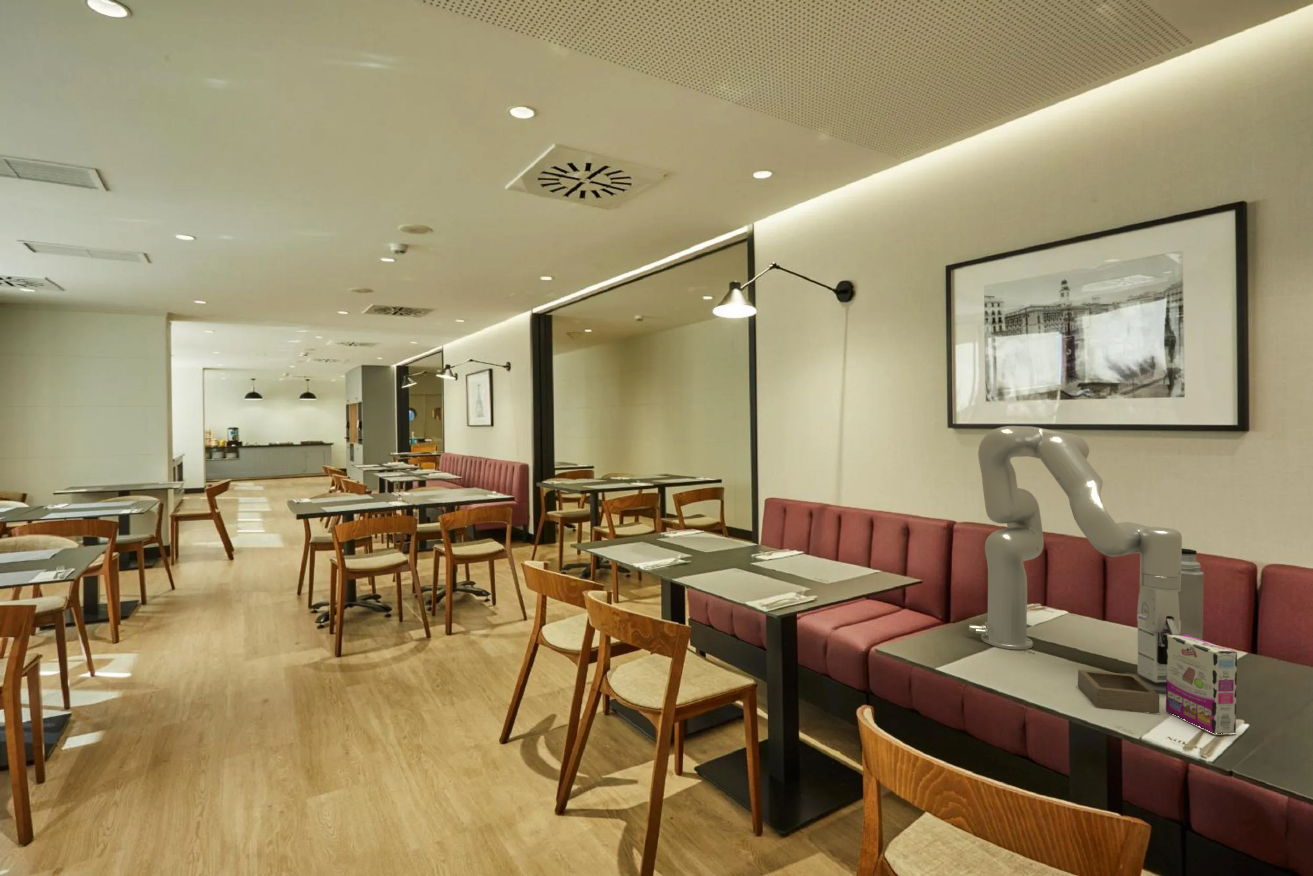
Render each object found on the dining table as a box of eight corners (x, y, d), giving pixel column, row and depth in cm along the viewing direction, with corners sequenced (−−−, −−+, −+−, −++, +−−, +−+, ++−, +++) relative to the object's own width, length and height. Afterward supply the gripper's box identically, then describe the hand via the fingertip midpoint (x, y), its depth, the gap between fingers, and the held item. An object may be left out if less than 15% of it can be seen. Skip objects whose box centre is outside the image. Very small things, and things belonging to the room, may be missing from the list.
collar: (1096, 707, 138) (1096, 688, 138) (1077, 686, 149) (1078, 669, 149) (1159, 714, 135) (1159, 695, 135) (1135, 692, 146) (1135, 675, 146)
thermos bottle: (1157, 648, 175) (1159, 545, 174) (1193, 652, 172) (1195, 547, 172) (1170, 658, 167) (1172, 550, 167) (1208, 662, 165) (1210, 553, 164)
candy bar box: (1238, 735, 126) (1239, 651, 125) (1214, 736, 125) (1215, 652, 125) (1186, 710, 137) (1187, 633, 137) (1164, 711, 136) (1165, 634, 136)
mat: (1143, 692, 146) (1143, 688, 146) (1124, 675, 156) (1124, 672, 156) (1195, 697, 144) (1195, 693, 143) (1173, 680, 153) (1173, 677, 153)
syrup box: (1155, 683, 147) (1157, 619, 147) (1136, 673, 153) (1137, 612, 152) (1180, 683, 147) (1182, 619, 147) (1160, 673, 153) (1161, 612, 152)
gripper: (1125, 572, 159) (1123, 644, 159) (1158, 589, 142) (1156, 670, 142) (1161, 574, 157) (1159, 647, 157) (1199, 592, 140) (1197, 674, 140)
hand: (1158, 657), depth 150 cm, fingers closed on syrup box, 6 cm apart
